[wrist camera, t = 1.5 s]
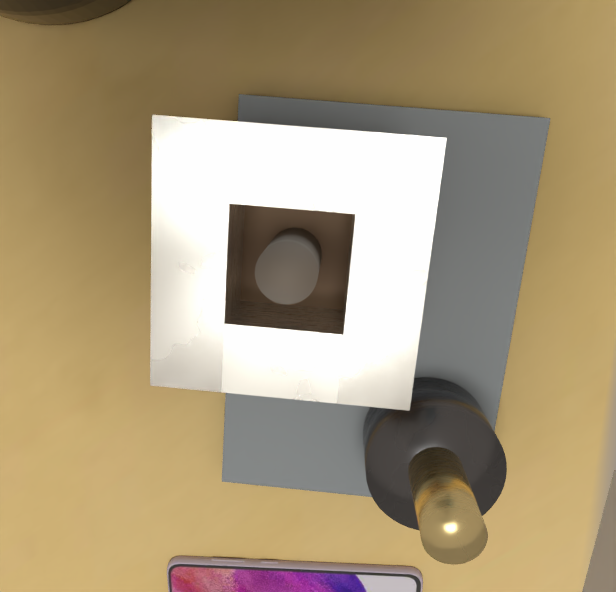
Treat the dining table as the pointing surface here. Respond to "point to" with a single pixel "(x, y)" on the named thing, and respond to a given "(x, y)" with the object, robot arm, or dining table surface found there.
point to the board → (439, 291)
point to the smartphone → (287, 576)
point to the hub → (436, 467)
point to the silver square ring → (278, 317)
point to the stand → (295, 256)
